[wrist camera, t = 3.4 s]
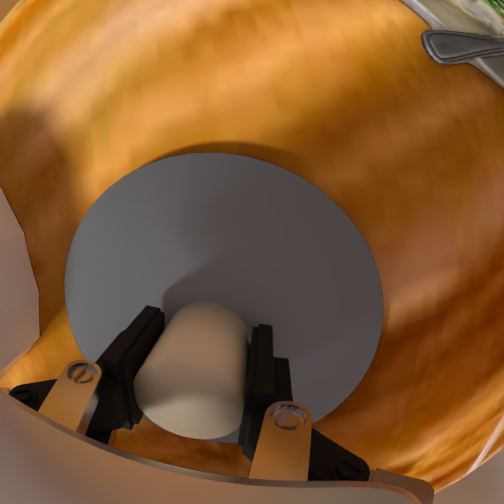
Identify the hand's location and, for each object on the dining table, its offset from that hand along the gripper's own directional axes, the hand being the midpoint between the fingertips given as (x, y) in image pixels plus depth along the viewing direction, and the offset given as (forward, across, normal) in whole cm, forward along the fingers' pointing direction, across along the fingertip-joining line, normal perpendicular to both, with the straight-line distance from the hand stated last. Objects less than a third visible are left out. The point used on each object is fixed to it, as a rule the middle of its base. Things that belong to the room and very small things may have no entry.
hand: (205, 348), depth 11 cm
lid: (+1, 0, 0) cm, 1 cm away
